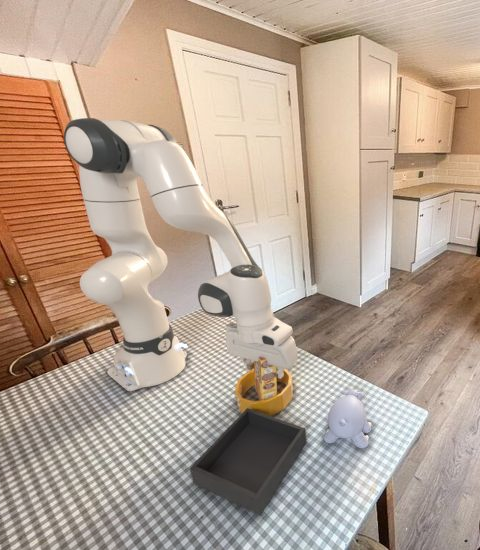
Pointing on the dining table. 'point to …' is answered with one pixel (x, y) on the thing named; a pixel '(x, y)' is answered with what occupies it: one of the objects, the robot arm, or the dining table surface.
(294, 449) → the bin
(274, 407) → the ring
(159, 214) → the robot arm
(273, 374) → the candy box
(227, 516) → the dining table surface
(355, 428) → the hippopotamus toy
